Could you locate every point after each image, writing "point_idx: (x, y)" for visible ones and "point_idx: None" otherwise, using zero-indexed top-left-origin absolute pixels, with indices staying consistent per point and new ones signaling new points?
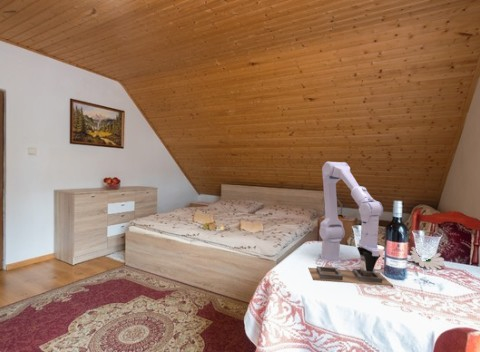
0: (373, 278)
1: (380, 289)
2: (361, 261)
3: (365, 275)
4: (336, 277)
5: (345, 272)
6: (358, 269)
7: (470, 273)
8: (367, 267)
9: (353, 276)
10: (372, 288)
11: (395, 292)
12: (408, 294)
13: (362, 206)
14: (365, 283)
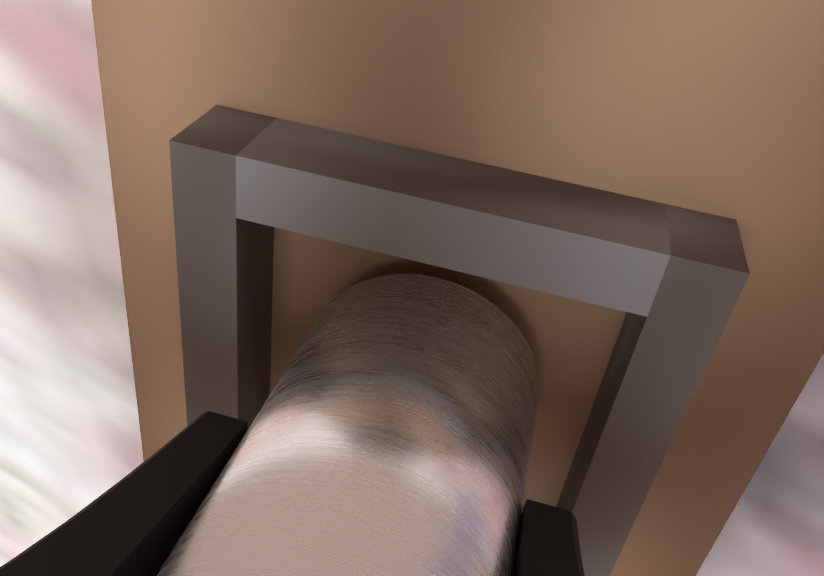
0: (186, 390)
1: (36, 304)
2: (264, 551)
3: (309, 333)
4: None
5: (783, 13)
6: (669, 389)
7: None
8: (135, 484)
9: (474, 105)
10: (31, 203)
11: (9, 429)
12: (8, 518)
13: None
14: (131, 173)
